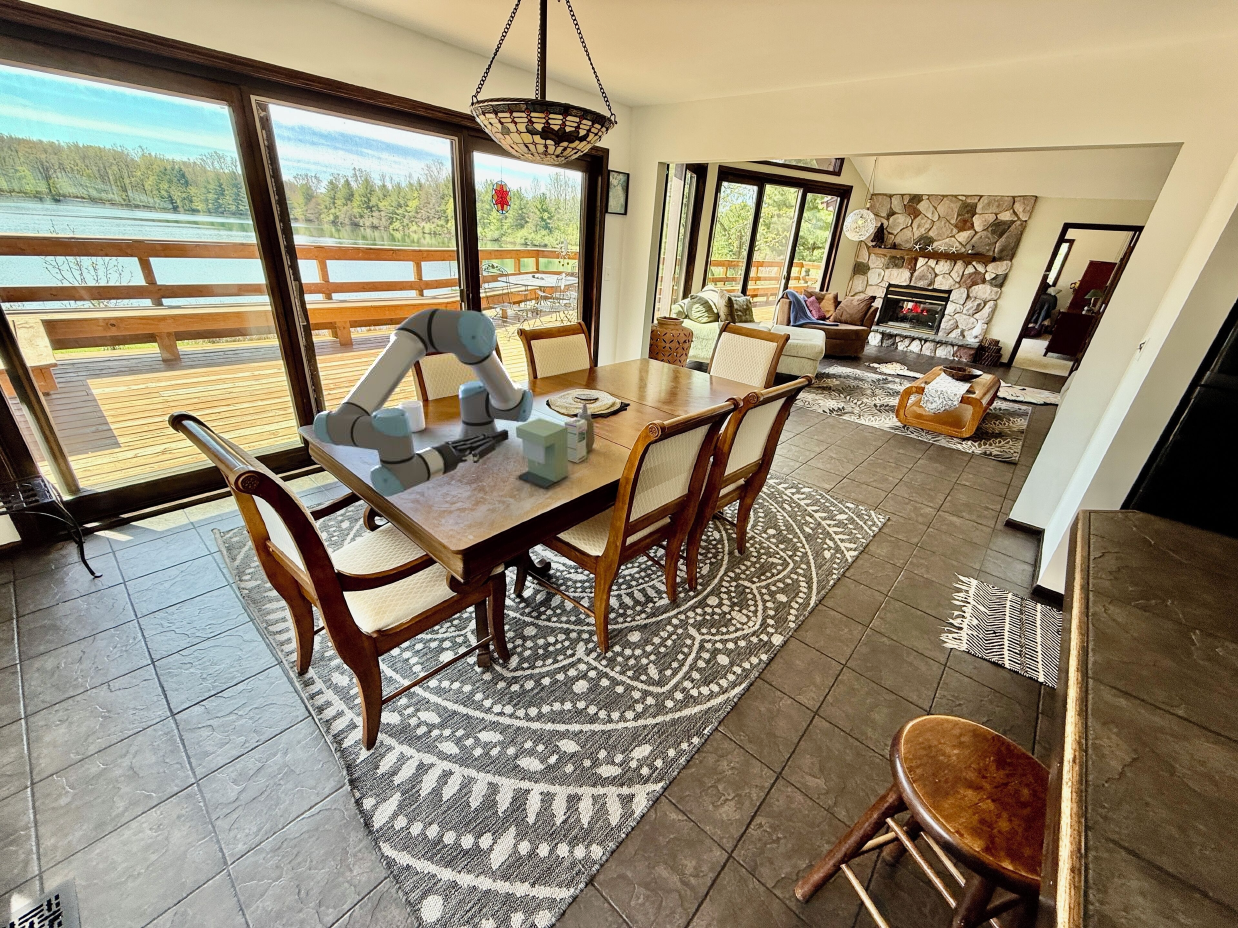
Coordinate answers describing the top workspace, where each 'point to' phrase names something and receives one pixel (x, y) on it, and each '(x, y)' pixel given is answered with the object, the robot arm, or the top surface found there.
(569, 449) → the syrup box
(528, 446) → the push plate
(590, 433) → the squeeze bottle
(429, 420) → the top surface
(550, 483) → the dispenser
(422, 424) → the mug
